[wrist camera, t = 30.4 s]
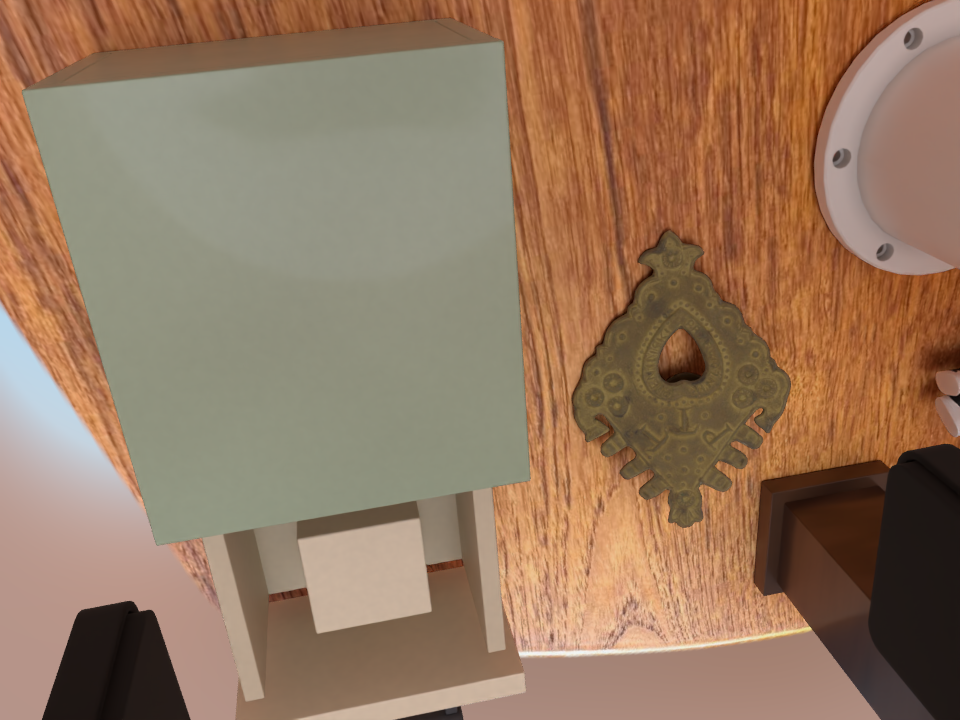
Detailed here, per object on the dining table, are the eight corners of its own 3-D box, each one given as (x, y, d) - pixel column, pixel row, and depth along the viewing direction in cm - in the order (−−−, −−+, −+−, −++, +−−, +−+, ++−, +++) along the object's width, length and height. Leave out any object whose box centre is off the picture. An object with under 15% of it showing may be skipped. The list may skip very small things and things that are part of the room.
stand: (880, 459, 48) (1170, 713, 32) (865, 560, 51) (1124, 838, 35) (761, 481, 47) (999, 754, 31) (753, 582, 50) (967, 878, 34)
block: (406, 454, 40) (420, 518, 36) (418, 542, 42) (432, 612, 38) (296, 473, 39) (296, 539, 35) (313, 561, 42) (316, 634, 37)
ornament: (774, 212, 39) (805, 513, 43) (760, 205, 41) (790, 492, 45) (545, 256, 40) (598, 546, 44) (543, 247, 42) (593, 524, 46)
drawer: (497, 648, 48) (531, 767, 41) (265, 694, 46) (260, 827, 39) (467, 323, 39) (505, 404, 32) (182, 365, 37) (157, 461, 30)
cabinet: (482, 370, 41) (531, 481, 33) (186, 416, 39) (155, 546, 31) (452, 17, 34) (504, 40, 26) (92, 52, 33) (20, 90, 24)
